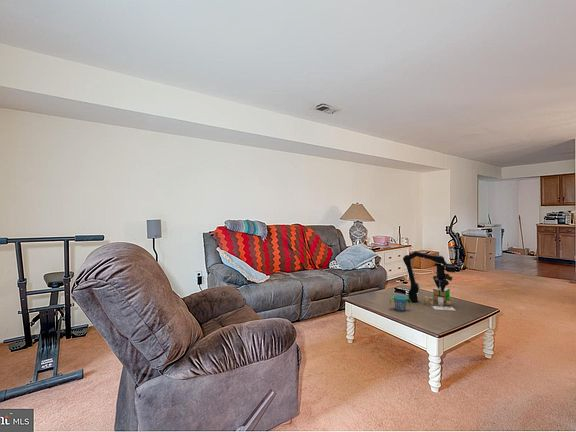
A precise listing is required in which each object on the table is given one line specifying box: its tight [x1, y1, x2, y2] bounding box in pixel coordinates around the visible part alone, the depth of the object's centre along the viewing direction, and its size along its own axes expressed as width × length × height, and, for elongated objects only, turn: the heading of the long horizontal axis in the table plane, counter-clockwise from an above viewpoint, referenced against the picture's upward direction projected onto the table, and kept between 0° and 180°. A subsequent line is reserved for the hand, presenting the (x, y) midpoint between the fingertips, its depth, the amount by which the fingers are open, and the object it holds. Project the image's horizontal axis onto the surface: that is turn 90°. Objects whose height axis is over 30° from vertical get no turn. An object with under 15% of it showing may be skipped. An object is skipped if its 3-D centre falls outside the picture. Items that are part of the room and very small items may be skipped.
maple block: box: [424, 295, 434, 307], centre depth 229 cm, size 5×5×6 cm
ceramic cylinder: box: [437, 297, 444, 307], centre depth 227 cm, size 4×4×6 cm
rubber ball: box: [445, 300, 452, 306], centre depth 226 cm, size 4×4×4 cm
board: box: [431, 305, 457, 312], centre depth 218 cm, size 15×8×1 cm, turn 80°
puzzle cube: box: [432, 286, 451, 304], centre depth 239 cm, size 10×10×10 cm
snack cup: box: [389, 294, 412, 312], centre depth 218 cm, size 16×10×10 cm
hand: (440, 290), depth 227 cm, fingers open, 9 cm apart
